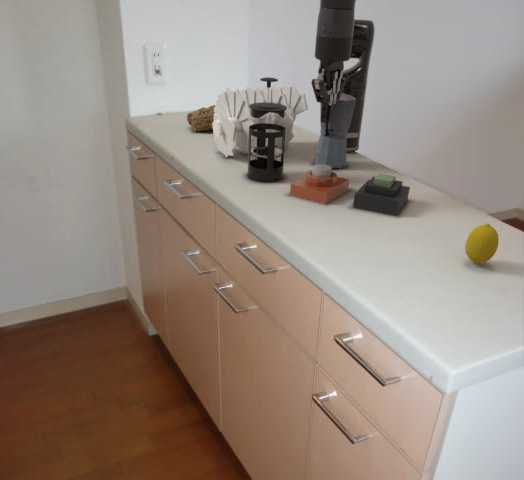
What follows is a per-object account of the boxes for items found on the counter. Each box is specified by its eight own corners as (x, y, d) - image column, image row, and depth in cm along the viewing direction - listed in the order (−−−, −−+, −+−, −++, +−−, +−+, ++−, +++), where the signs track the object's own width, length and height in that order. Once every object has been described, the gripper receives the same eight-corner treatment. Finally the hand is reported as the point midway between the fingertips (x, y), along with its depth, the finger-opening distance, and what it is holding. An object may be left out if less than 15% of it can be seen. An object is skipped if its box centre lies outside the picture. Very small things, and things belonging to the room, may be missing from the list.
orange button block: (314, 182, 139) (315, 164, 136) (348, 190, 135) (350, 171, 132) (289, 195, 131) (291, 176, 128) (325, 204, 127) (327, 184, 124)
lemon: (456, 257, 106) (466, 218, 101) (484, 257, 106) (495, 218, 101) (467, 271, 101) (478, 230, 96) (496, 270, 102) (509, 230, 97)
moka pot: (352, 160, 156) (362, 82, 144) (341, 176, 144) (350, 93, 132) (320, 155, 158) (327, 79, 146) (305, 171, 146) (312, 89, 134)
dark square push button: (366, 193, 133) (369, 172, 131) (407, 201, 130) (411, 180, 127) (352, 208, 125) (355, 186, 122) (396, 216, 122) (400, 194, 119)
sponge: (198, 138, 173) (255, 121, 177) (190, 112, 169) (249, 95, 173) (187, 136, 184) (241, 119, 188) (180, 111, 180) (236, 95, 184)
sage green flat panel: (377, 180, 127) (378, 173, 126) (394, 183, 126) (395, 176, 125) (372, 185, 124) (374, 178, 123) (390, 188, 123) (391, 181, 122)
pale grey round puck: (317, 171, 133) (318, 163, 132) (333, 175, 131) (334, 166, 130) (308, 176, 130) (309, 167, 129) (325, 180, 128) (325, 171, 127)
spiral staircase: (211, 168, 158) (282, 152, 169) (239, 155, 143) (315, 139, 154) (193, 101, 154) (268, 89, 164) (220, 81, 138) (300, 70, 149)
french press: (288, 182, 138) (295, 82, 125) (252, 184, 136) (254, 82, 122) (276, 168, 147) (281, 73, 134) (242, 169, 145) (243, 73, 132)
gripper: (336, 38, 107) (327, 131, 117) (364, 33, 116) (354, 119, 126) (302, 34, 110) (296, 125, 120) (333, 29, 119) (325, 114, 130)
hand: (326, 122), depth 123 cm, fingers closed
